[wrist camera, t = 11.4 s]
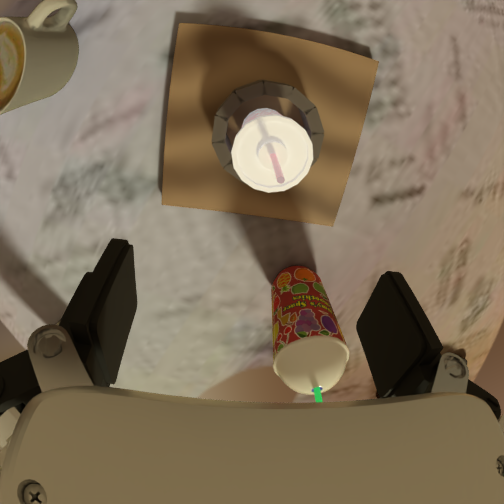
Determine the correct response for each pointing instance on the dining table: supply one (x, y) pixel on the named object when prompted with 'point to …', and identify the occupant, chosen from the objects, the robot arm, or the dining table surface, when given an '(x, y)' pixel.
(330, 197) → the socket board
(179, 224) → the dining table surface
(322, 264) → the dining table surface
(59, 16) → the coffee mug
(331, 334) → the smoothie
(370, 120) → the dining table surface
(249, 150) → the beverage cup
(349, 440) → the robot arm
